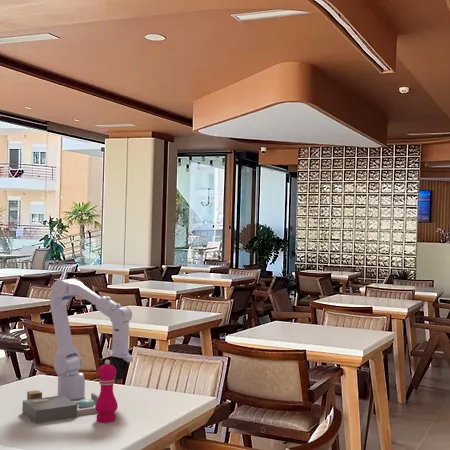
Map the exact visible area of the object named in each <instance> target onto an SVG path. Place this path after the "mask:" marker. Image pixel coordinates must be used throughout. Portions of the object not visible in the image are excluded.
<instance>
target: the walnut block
mask: <svg viewBox="0 0 450 450" xmlns="http://www.w3.org/2000/svg"><path fill="white" fill-rule="evenodd" d="M38 398H43V392H42V391H41V390H39V389H38V390H37V389H36V390H30V391H27V392H26V400H31V399H38Z"/></svg>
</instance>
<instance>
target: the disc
mask: <svg viewBox="0 0 450 450" xmlns="http://www.w3.org/2000/svg"><path fill="white" fill-rule="evenodd" d="M78 401H79V403H78V407H79V408H82V409H83V408H90V407H94V400H92V399H91V398H81V399H78Z"/></svg>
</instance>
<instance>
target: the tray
mask: <svg viewBox="0 0 450 450" xmlns="http://www.w3.org/2000/svg"><path fill="white" fill-rule="evenodd" d="M90 395H91V397H90V399H92V400H94V407H90V408H83V409H82V408H79V407H78V403H79V400H76V401H75V400H74V401H73V402H74V403H75V404H77V416H81V415H88V414H89V415H90V414H95V413H98V412H97V411H96V409H95V407H96V402H97V400H98V397H99V395H98V394H97V393H94V392H91V394H90Z"/></svg>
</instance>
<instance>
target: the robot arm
mask: <svg viewBox="0 0 450 450" xmlns="http://www.w3.org/2000/svg"><path fill="white" fill-rule="evenodd" d="M50 292H51V294H50V302H49V305H50V310H51V315H52V322H53V323H52V324H53V328H54V334H55V339H56V345H57V351H56V353H55V354H54V355H53V356H54V363H53V364H54V365H53V368H54V370H55V371H54V372H55V373H56V375H57V394H54V395H53V396H61V395H63V396H64V397H66V398H68V399H69V400H71V401H73V400H82V399H86V395H85V389H86V384H85V383H86V382H85V381H86V380H85V375H84V373H83V372H80V371H79V370H80V369H81V368H82V365H83V360H82V358H81V356H80V354H79V351H78V349H77V348H76V347H75V346H74V344H73V338H72V333H71V332H72V331H71V328H70V322H69V321H70V320H69V315H68V311H67V304H68V302H69V301H71V299H72V298H73V297H75V296H79V297H80V298H83V299H85V300H86V301H88V302H89V303H91V304H93V305H95V309H96V310H97V311H98V312H100V313H101V314H103V315H104V316H105V317H108V318H109V320H110V322H111V325H112V326H111V327H112V342H111V343H112V347H111V349H108V350H107V353H108V354H107V355H108V356H109V357H113V358H110V360H109V361H110V364H111V365H113V366H114V367H115V368H116V376H115V379H117V380H118V381H119V380H124V378H125V375H126V371H127V368H128V367H129V364H130V363H131V362H133V361H134V356H133V355H131V354H130V353H129V343H130V342H129V339H130V338H129V337H130V336H129V335H130V334H129V332H130V321H131V320H132V318H133V313H132V310H131V309H130V308H129V307H128V306H126V305H125V306H121V303H117V302H115V301H114V300H112V298H111V297H110V296H108V295H107V296H105V295H103V296H100V295H99V294H97V293H96V292H94V291H93V290H92V289H90V288H89V287H88V286H86V285H84V283H83V282H82V281H80V280H78V279H77V278H74V277H73V278H68V279H67V278H66V279H57V280H55V281H54V283H53V284H52V285H51V287H50Z"/></svg>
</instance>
